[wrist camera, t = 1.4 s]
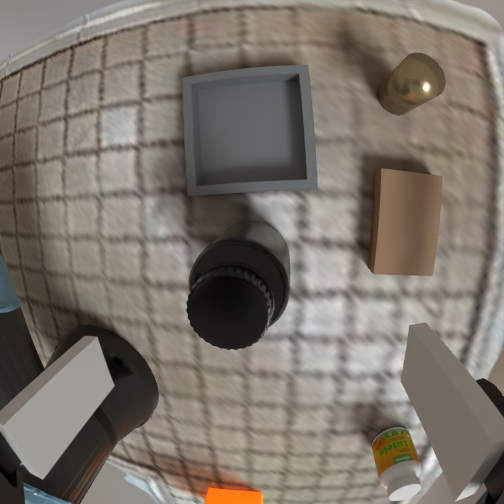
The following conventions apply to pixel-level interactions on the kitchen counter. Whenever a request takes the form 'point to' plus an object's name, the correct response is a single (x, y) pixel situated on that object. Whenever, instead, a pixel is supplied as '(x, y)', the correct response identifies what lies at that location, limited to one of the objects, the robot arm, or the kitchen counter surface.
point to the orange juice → (233, 497)
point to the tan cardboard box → (405, 222)
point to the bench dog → (411, 84)
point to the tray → (249, 131)
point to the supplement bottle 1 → (239, 285)
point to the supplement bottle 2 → (397, 463)
